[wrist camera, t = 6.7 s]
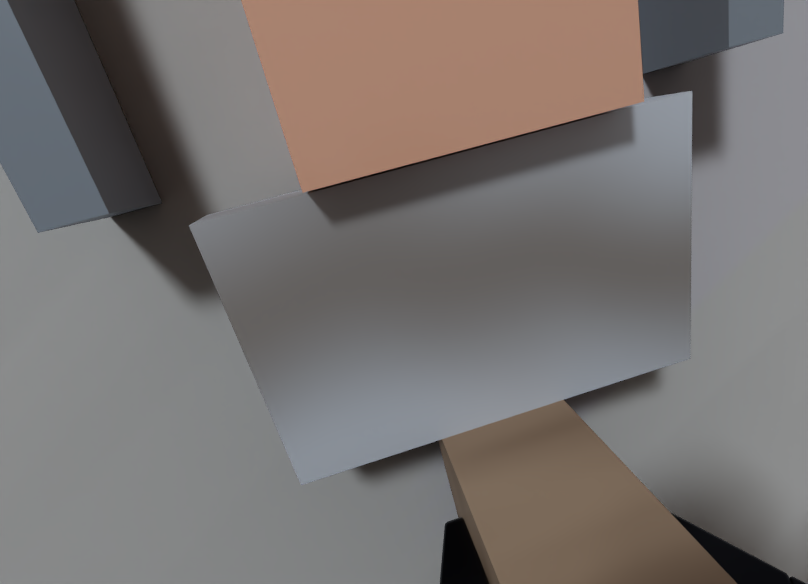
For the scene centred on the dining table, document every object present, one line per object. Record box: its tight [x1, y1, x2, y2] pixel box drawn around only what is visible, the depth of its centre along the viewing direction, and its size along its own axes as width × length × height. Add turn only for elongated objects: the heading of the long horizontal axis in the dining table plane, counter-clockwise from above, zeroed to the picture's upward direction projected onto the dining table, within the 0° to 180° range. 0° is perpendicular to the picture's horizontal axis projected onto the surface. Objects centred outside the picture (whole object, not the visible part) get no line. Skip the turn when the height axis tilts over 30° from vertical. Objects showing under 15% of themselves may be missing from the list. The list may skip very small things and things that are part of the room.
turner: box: [189, 91, 737, 584], centre depth 7 cm, size 14×8×5 cm, turn 14°
